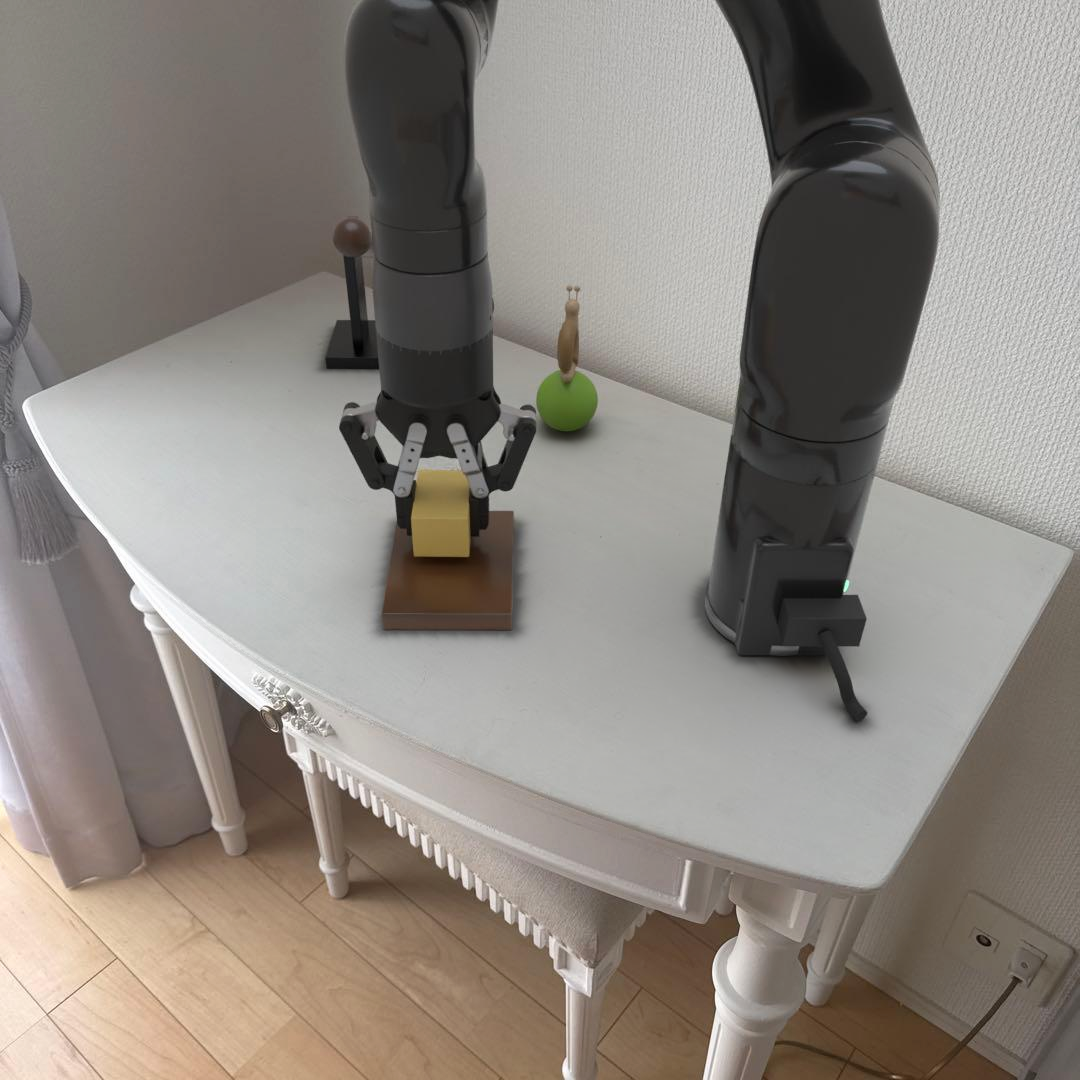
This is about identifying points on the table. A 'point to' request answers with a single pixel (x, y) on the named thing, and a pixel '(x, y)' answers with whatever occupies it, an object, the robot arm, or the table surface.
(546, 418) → the snail figurine
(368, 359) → the slicer bracket
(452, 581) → the board
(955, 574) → the table surface
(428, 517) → the butter
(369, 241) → the brown knob lever
